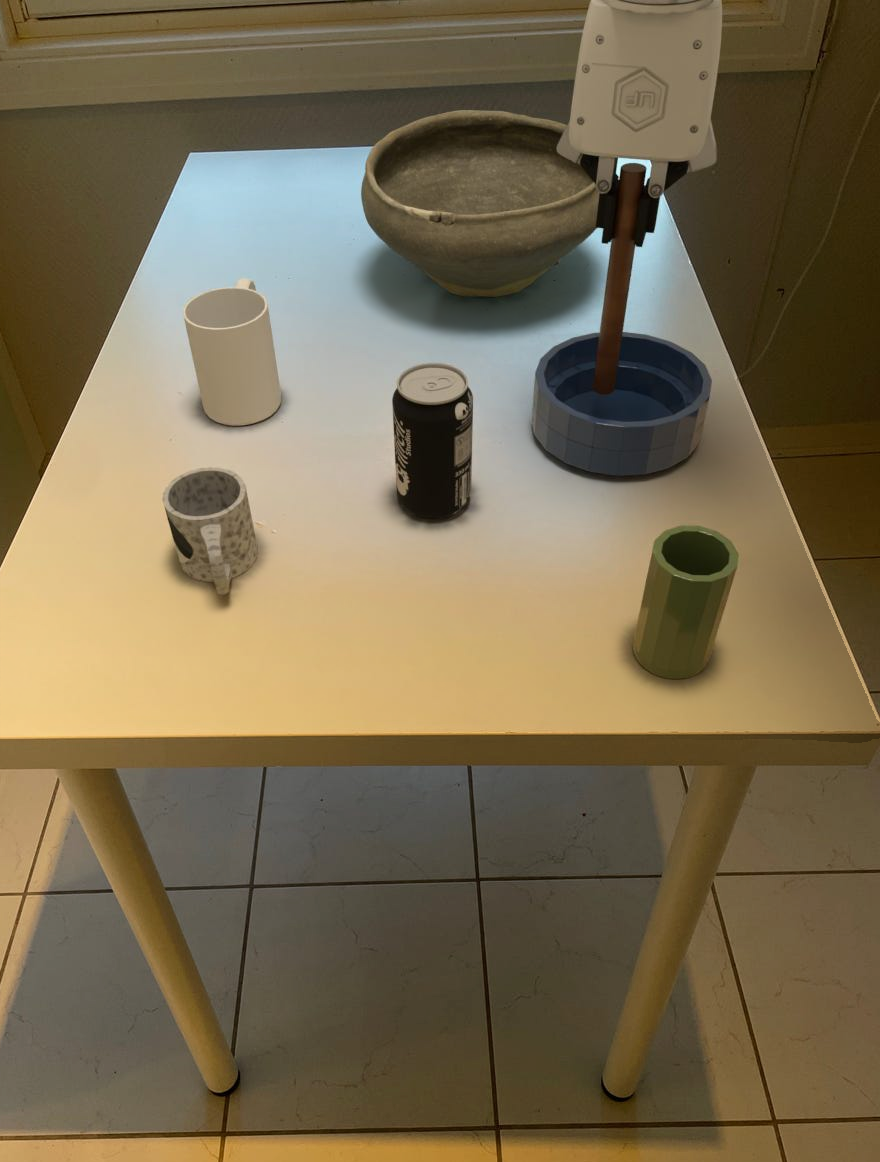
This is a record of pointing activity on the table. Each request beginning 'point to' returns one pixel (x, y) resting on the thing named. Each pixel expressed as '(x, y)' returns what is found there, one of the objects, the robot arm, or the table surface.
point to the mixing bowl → (621, 405)
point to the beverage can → (433, 439)
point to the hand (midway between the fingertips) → (624, 236)
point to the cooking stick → (618, 276)
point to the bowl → (478, 199)
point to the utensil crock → (684, 600)
